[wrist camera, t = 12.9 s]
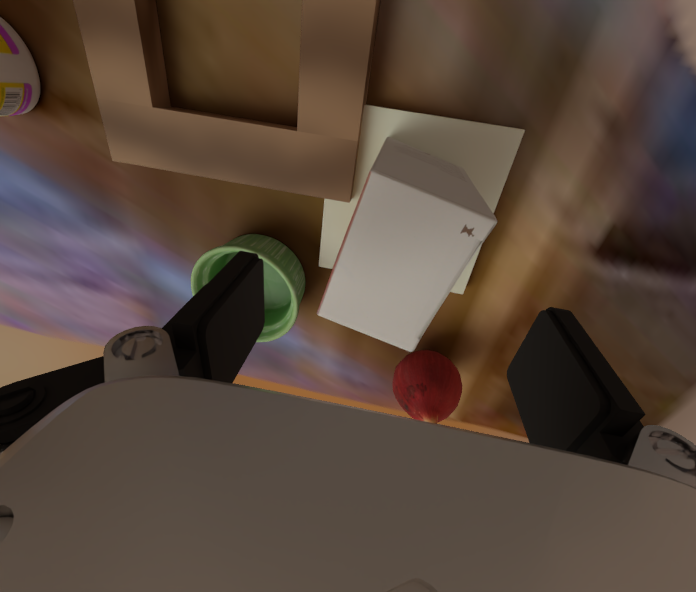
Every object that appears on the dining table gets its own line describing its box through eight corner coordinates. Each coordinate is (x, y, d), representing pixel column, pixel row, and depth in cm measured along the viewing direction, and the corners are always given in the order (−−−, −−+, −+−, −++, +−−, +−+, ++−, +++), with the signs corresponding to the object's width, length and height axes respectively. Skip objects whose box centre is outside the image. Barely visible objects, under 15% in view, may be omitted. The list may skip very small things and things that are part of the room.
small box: (387, 134, 21) (370, 162, 12) (465, 167, 22) (503, 218, 13) (346, 240, 26) (312, 317, 17) (412, 267, 26) (412, 356, 17)
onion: (391, 373, 34) (387, 443, 27) (398, 328, 30) (394, 394, 24) (450, 381, 33) (460, 455, 26) (462, 336, 30) (477, 407, 23)
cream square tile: (336, 99, 22) (333, 100, 21) (520, 128, 21) (525, 130, 20) (321, 261, 28) (318, 266, 27) (461, 288, 27) (462, 294, 26)
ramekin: (326, 255, 28) (313, 280, 24) (293, 328, 33) (278, 358, 29) (229, 208, 27) (200, 225, 23) (209, 289, 32) (182, 315, 28)
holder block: (49, -228, 16) (8, -265, 15) (407, -195, 15) (406, -232, 13) (131, 156, 26) (112, 160, 24) (353, 195, 25) (349, 202, 23)
